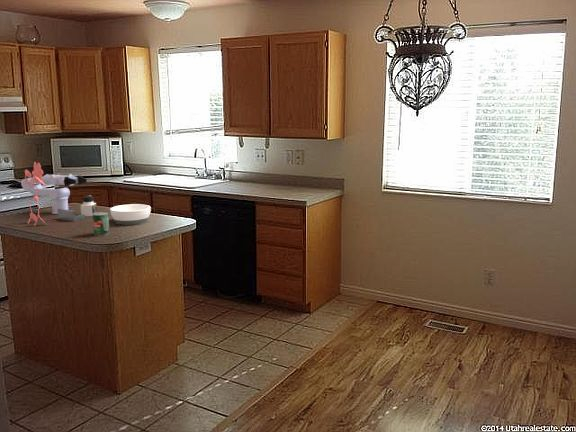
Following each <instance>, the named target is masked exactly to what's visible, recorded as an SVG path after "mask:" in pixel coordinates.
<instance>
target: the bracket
mask: <svg viewBox="0 0 576 432" xmlns="http://www.w3.org/2000/svg"><path fill="white" fill-rule="evenodd" d="M57 210H58V214H57V219H58V220H62V221H66V222H67V221H69V222H74V223H75V222H77V221H81V220H85V219H86V216H85V215H84V214H82V215H81V214H78V215H77V214H76V212H77V211H76V210H71V209H70V210H69V209H68V210H65V209H57Z"/></svg>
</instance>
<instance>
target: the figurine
mask: <svg viewBox="0 0 576 432" xmlns="http://www.w3.org/2000/svg"><path fill="white" fill-rule="evenodd" d="M24 174H25V176H24V179H25V184H30V186H31V187H33V186H35V185H33V183H34V180H35V182H36V184H37V183H38V181H39V183H40V184H41V185H43V186H47V184H44V182H42V177H43V176H44V171H43V169H42V166H41V164H40V162H36V161H34V162H33V170H32V172H30V171H29V170H28V169H25V170H24ZM33 177H34V179H33ZM27 178H32V179H33V183H32V184H31V183H30V182H31V181H32V179H31V180H30V182H29V183H26V179H27ZM35 187H37V186H35ZM37 190H38V187H37ZM33 201H36V202H37V212H38V214H37V215H36V214H34V213H33V211H32V207H31V204H30V203H31V202H33ZM28 206H29V208H30V213H29V216H30V217H29V219H28V221H27V224H30V223H31V222H30V221H31V220H33V221H34V222H35V223H34V225H33V226H34V227H35V226H36V225H37V223H38V220H39V219H40V220H41V222H43V223H44V224H45V225H47V222H46V219H45V218H44V219H43V218H42V217H41V216H40V207H39V196H37V191H36V195H33V197H32V200H30V201H29V202H28ZM44 220H45V221H44ZM47 221H51V219H48V218H47ZM53 221H55V222H56V220H55V219H54V220H53Z"/></svg>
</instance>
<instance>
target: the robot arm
mask: <svg viewBox="0 0 576 432" xmlns="http://www.w3.org/2000/svg"><path fill="white" fill-rule="evenodd" d="M32 177H33V176H32ZM32 177H31V178H29V177H26V183H29V182H30V180H31V179H32ZM33 179H34V177H33ZM33 179H32V181H31V182H30V183H31V184H32V183H33ZM87 181H88V180H87V178H85V177H84V176H82V175H77V176H74V175H73V173H69V174H68V175H61V174H59V173H58V174H52V173H51V174H50V173H49V174H48V173H46V174H45V175H42V182H44V184H45V185H52V186H55V185H60V186H61V185H62V186H65V187H61V188H44V187H43V186H42V183H41V184H40V183H39V181H38V183H37V184H36V182H35V180H34V183H33V185H35V186H37V187H38V190H37V187H35V186H33V187H31V186H30V184H25V178H24V179H22V180H21V181H20V182H21V183H20V184H21V187H22V189H23V191H27V192H28V193H30V194H32V195H33V196H36V191H37V196H38V197H40V196H41V197H49V198H51V199H53V200H52V201H51V209H52V212H51V214H53V215H54V214H55V215H58V210H57V209H65V210H69V203H68V202H69V200H68V199H69V197H70V195H71V191H70V189H69V188H68V187H69V186H71V187H72V186H74V185H76V184H78V186H81V185H83V184H85V183H87Z"/></svg>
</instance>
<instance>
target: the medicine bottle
mask: <svg viewBox="0 0 576 432" xmlns="http://www.w3.org/2000/svg"><path fill="white" fill-rule="evenodd" d="M97 207H98V206H97V203H96V202H94V197H93V196H92V195H84V196H83V197H82V204H80V215H82V214H84V215H85V217H93V215H92V214H93V213H96V212H98V210H97V209H98V208H97Z"/></svg>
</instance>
